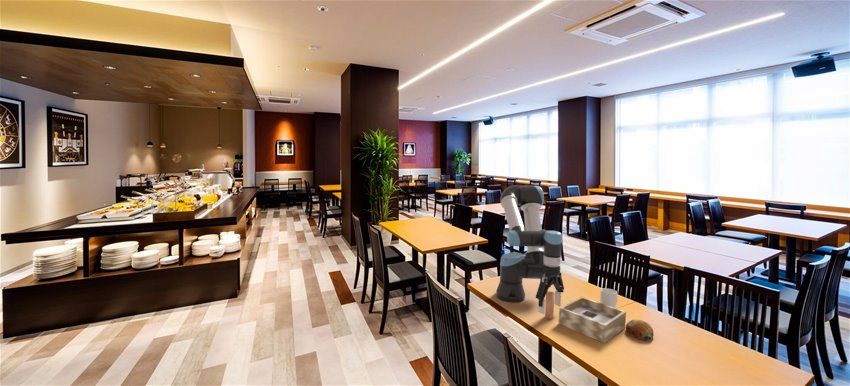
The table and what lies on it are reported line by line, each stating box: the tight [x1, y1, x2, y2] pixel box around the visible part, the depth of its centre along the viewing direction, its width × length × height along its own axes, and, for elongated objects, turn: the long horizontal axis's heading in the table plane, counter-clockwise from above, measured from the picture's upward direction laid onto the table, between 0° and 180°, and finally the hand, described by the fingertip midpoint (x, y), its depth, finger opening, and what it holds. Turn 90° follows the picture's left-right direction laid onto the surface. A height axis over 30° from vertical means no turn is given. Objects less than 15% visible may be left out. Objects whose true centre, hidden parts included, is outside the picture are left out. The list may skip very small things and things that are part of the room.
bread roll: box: [625, 319, 655, 341], centre depth 142 cm, size 10×10×8 cm
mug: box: [599, 287, 618, 308], centre depth 160 cm, size 10×7×12 cm, turn 116°
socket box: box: [558, 296, 627, 344], centre depth 149 cm, size 20×20×8 cm
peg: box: [544, 290, 555, 320], centre depth 156 cm, size 4×4×12 cm
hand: (549, 308), depth 156 cm, fingers open, 13 cm apart
